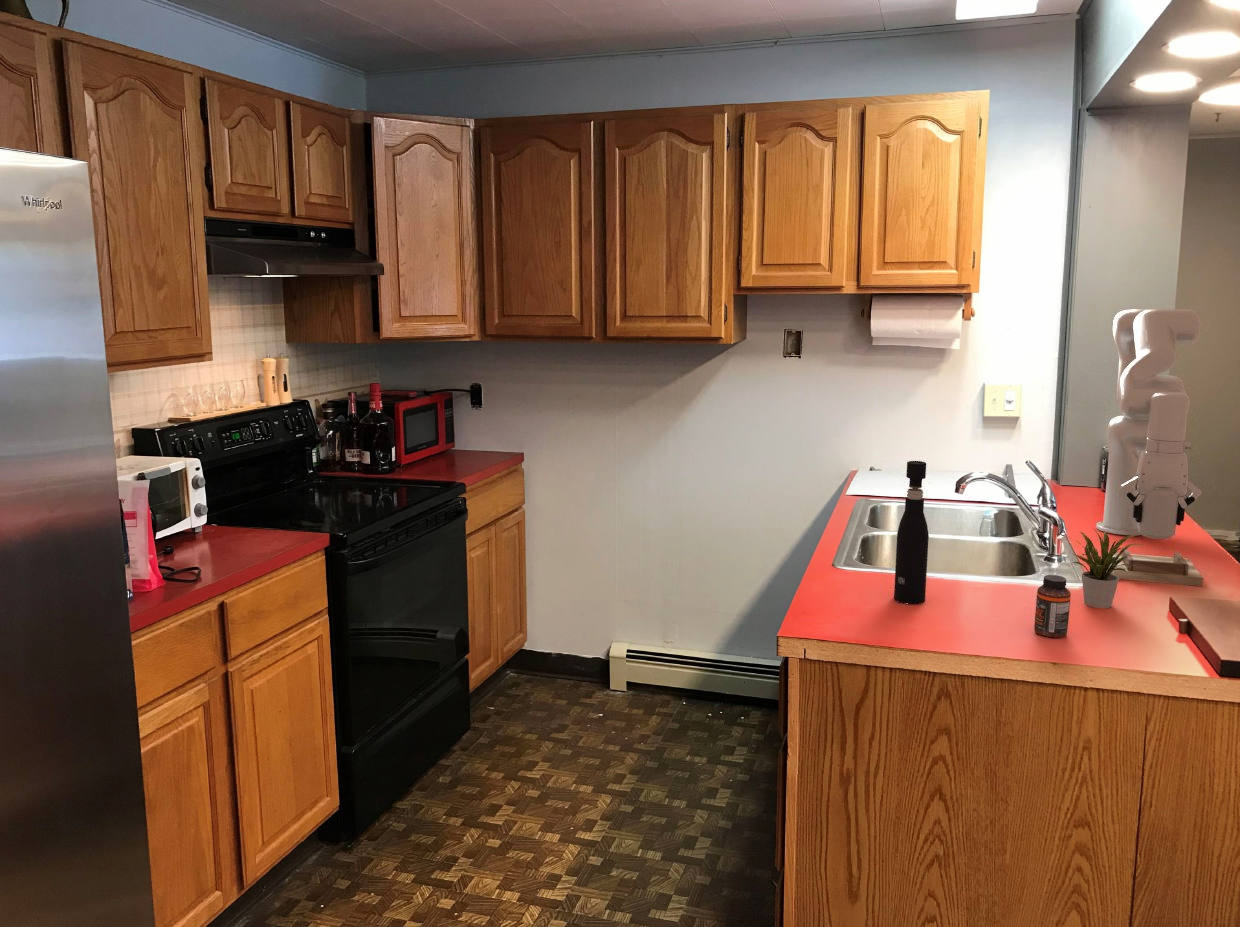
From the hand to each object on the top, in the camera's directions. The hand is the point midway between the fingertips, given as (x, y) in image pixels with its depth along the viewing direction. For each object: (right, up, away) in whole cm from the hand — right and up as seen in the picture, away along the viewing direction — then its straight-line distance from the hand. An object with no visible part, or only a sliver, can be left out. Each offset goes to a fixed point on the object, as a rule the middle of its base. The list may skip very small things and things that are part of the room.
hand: (1157, 522), depth 223 cm
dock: (+1, -12, +4) cm, 13 cm away
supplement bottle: (-40, -20, -35) cm, 57 cm away
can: (0, -3, +1) cm, 3 cm away
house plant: (-22, -17, -19) cm, 33 cm away
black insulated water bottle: (-62, -16, -15) cm, 65 cm away
